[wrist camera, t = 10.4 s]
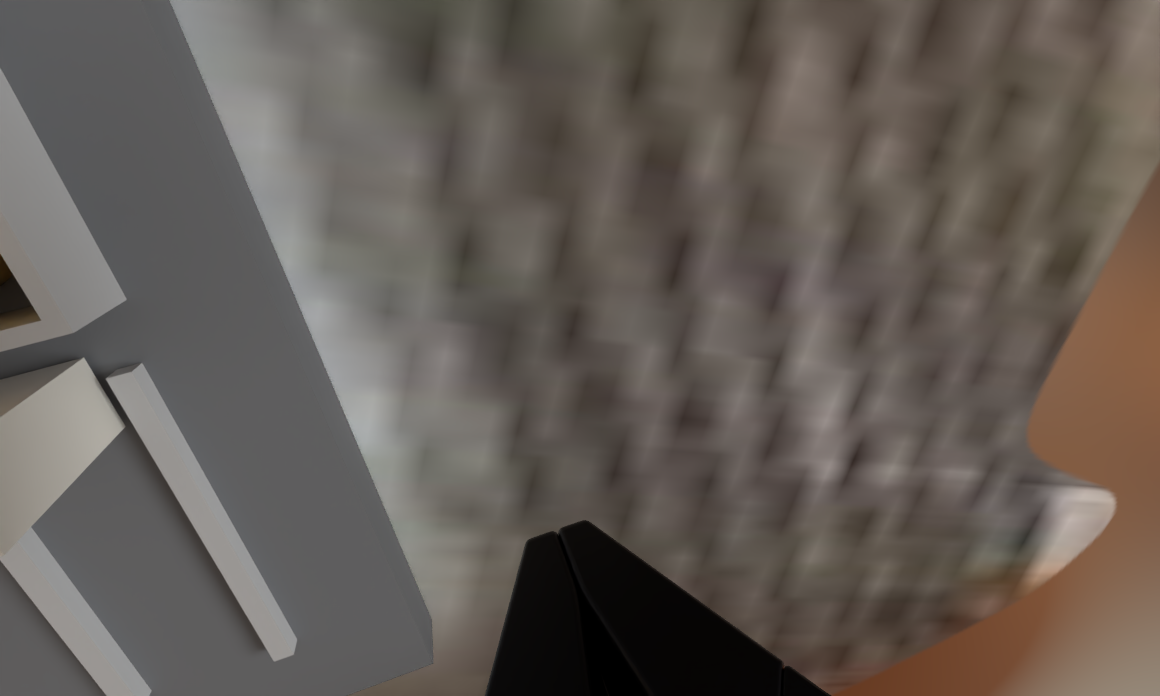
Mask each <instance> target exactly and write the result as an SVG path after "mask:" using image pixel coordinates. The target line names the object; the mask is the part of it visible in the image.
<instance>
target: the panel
mask: <svg viewBox="0 0 1160 696" xmlns="http://www.w3.org/2000/svg"><path fill="white" fill-rule="evenodd" d="M0 254H1V256H2V257H3V259H4V260H5V262H6V264H7V265H8V267H9V269H10V270H11V272H12V273H13V275H12V276H11V277H10V278H9V279H8V280H7V281H5V282H4V283H3V284H2V285H0V380H1V379H5V378H8V377H12V376H16V375H20V374H23V373H27V372H31V371H35V370H38V369H42V368H46V367H50V366H54V365H57V364H61V363H65V362H69V361H72V360H76V359H80V358H85V360H86V362H87V363H88V365H89V367H90V368H91V370H92V372H93V373H94V375H95V377H96V378H97V380H98V382H99V383H100V385H101V387H102V388H103V390H104V392H105V393H106V395H107V397H108V398H109V400H110V402H111V403H112V405H113V407H114V408H115V410H116V412H117V413H118V415H119V417H120V418H121V420H122V422H123V423H124V425H125V426H126V427H125V428H124V429H123V430H122V431H121V432H120V433H119V434H118V435H117V436H116V437H115V438H114V439H113V440H112V442H111V443H110V444H109V445H108V446H107V447H106V448H105V449H104V450H103V451H102V452H101V453H100V454H99V455H98V456H97V457H96V458H95V460H94V461H93V462H92V463H91V464H90V465H89V466H88V467H87V468H86V469H85V470H84V471H83V472H82V473H81V474H80V475H79V477H78V478H77V479H76V480H75V481H74V482H73V483H72V484H71V485H70V486H69V487H68V488H67V489H66V490H65V491H64V492H63V493H62V495H61V496H60V497H59V498H58V499H57V500H56V501H55V502H54V503H53V504H52V505H51V506H50V507H49V508H48V509H47V510H46V512H45V513H44V514H43V515H42V516H41V517H40V518H39V519H38V520H37V521H36V522H35V523H34V524H33V525H32V526H31V527H30V528H29V530H28V531H27V532H26V533H25V534H24V535H23V536H22V537H21V538H20V539H19V540H18V541H17V542H16V543H15V544H14V545H13V546H12V548H11V549H10V550H9V551H8V552H7V553H6V554H5V555H3V556H0V696H347V695H350V694H353V693H355V692H358V691H361V690H363V689H366V688H369V687H372V686H374V685H377V684H380V683H382V682H385V681H388V680H390V679H393V678H396V677H398V676H401V675H404V674H407V673H409V672H412V671H415V670H417V669H420V668H423V667H425V666H428V665H431V664H433V640H432V619H431V617H430V615H429V612H428V610H427V608H426V605H425V603H424V600H423V598H422V596H421V593H420V591H419V589H418V586H417V584H416V582H415V579H414V577H413V575H412V572H411V570H410V567H409V565H408V563H407V560H406V558H405V556H404V553H403V551H402V549H401V546H400V544H399V541H398V539H397V537H396V534H395V532H394V530H393V527H392V525H391V523H390V520H389V518H388V516H387V513H386V511H385V508H384V506H383V504H382V501H381V499H380V497H379V494H378V492H377V490H376V487H375V485H374V483H373V480H372V478H371V475H370V473H369V471H368V468H367V466H366V464H365V461H364V459H363V457H362V454H361V452H360V449H359V447H358V445H357V442H356V440H355V438H354V435H353V433H352V431H351V428H350V426H349V424H348V421H347V419H346V416H345V414H344V412H343V409H342V407H341V405H340V402H339V400H338V398H337V395H336V393H335V391H334V388H333V386H332V383H331V381H330V379H329V376H328V374H327V372H326V369H325V367H324V365H323V362H322V360H321V357H320V355H319V353H318V350H317V348H316V346H315V343H314V341H313V339H312V336H311V334H310V332H309V329H308V327H307V324H306V322H305V320H304V317H303V315H302V313H301V310H300V308H299V306H298V303H297V301H296V298H295V296H294V294H293V291H292V289H291V287H290V284H289V282H288V280H287V277H286V275H285V273H284V270H283V268H282V265H281V263H280V261H279V258H278V256H277V254H276V251H275V249H274V247H273V244H272V242H271V240H270V237H269V235H268V232H267V230H266V228H265V225H264V223H263V221H262V218H261V216H260V214H259V211H258V209H257V206H256V204H255V202H254V199H253V197H252V195H251V192H250V190H249V188H248V185H247V183H246V181H245V178H244V176H243V173H242V171H241V169H240V166H239V164H238V162H237V159H236V157H235V155H234V152H233V150H232V147H231V145H230V143H229V140H228V138H227V136H226V133H225V131H224V129H223V126H222V124H221V122H220V119H219V117H218V114H217V112H216V110H215V107H214V105H213V103H212V100H211V98H210V96H209V93H208V91H207V89H206V86H205V84H204V81H203V79H202V77H201V74H200V72H199V70H198V67H197V65H196V63H195V60H194V58H193V55H192V53H191V51H190V48H189V46H188V44H187V41H186V39H185V37H184V34H183V32H182V30H181V27H180V25H179V22H178V20H177V18H176V15H175V13H174V11H173V8H172V6H171V4H170V1H169V0H0Z"/></svg>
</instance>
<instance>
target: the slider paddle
mask: <svg viewBox="0 0 1160 696" xmlns="http://www.w3.org/2000/svg"><path fill="white" fill-rule="evenodd" d="M125 427H126V426H125V425H124V423H123V422H122V420H121V418H120V417H119V415H118V413H117V412H116V410H115V408H114V407H113V405H112V403H111V402H110V400H109V398H108V397H107V395H106V393H105V392H104V390H103V388H102V387H101V385H100V383H99V382H98V380H97V378H96V377H95V375H94V373H93V372H92V370H91V368H90V367H89V365H88V363H87V362H86V360H85V358H80V359H76V360H72V361H69V362H65V363H61V364H57V365H54V366H50V367H46V368H42V369H38V370H35V371H31V372H27V373H23V374H20V375H16V376H12V377H8V378H5V379H1V380H0V556H3V555H5V554H6V553H7V552H8V551H9V550H10V549H11V548H12V546H13V545H14V544H15V543H16V542H17V541H18V540H19V539H20V538H21V537H22V536H23V535H24V534H25V533H26V532H27V531H28V530H29V528H30V527H31V526H32V525H33V524H34V523H35V522H36V521H37V520H38V519H39V518H40V517H41V516H42V515H43V514H44V513H45V512H46V510H47V509H48V508H49V507H50V506H51V505H52V504H53V503H54V502H55V501H56V500H57V499H58V498H59V497H60V496H61V495H62V493H63V492H64V491H65V490H66V489H67V488H68V487H69V486H70V485H71V484H72V483H73V482H74V481H75V480H76V479H77V478H78V477H79V475H80V474H81V473H82V472H83V471H84V470H85V469H86V468H87V467H88V466H89V465H90V464H91V463H92V462H93V461H94V460H95V458H96V457H97V456H98V455H99V454H100V453H101V452H102V451H103V450H104V449H105V448H106V447H107V446H108V445H109V444H110V443H111V442H112V440H113V439H114V438H115V437H116V436H117V435H118V434H119V433H120V432H121V431H122V430H123V429H124V428H125Z"/></svg>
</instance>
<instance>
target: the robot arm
mask: <svg viewBox="0 0 1160 696" xmlns="http://www.w3.org/2000/svg"><path fill="white" fill-rule="evenodd" d="M558 535H559V536H558ZM485 696H831V695H829V694H828V693H826V692H825V691H823V690H822V689H821V688H819V687H818V686H816V685H815V684H814V683H812V682H811V681H810V680H808V679H807V678H805V677H804V676H803V675H801V674H800V673H799V672H797V671H796V670H795V669H793V668H792V667H790V666H786V667H785V668H784V663H783V662H782V661H781V660H780V659H779V658H777V657H776V656H775V655H773V654H772V653H770V652H769V651H768V650H766V649H765V648H764V647H762V646H761V645H759V644H758V643H757V642H755V641H754V640H753V639H751V638H750V637H748V636H747V635H746V634H744V633H743V632H741V631H740V630H739V629H737V628H736V627H735V626H733V625H732V624H730V623H729V622H728V621H726V620H725V619H723V618H722V617H721V616H719V615H718V614H717V613H715V612H714V611H712V610H711V609H710V608H708V607H707V606H705V605H704V604H703V603H701V602H700V601H699V600H697V599H696V598H694V597H693V596H692V595H690V594H689V593H687V592H686V591H685V590H683V589H682V588H681V587H679V586H678V585H676V584H675V583H674V582H672V581H671V580H669V579H668V578H667V577H665V576H664V575H663V574H661V573H660V572H658V571H657V570H656V569H654V568H653V567H651V566H650V565H649V564H647V563H646V562H645V561H643V560H642V559H640V558H639V557H638V556H636V555H635V554H634V553H632V552H631V551H629V550H628V549H627V548H625V547H624V546H622V545H621V544H620V543H618V542H617V541H616V540H614V539H613V538H611V537H610V536H609V535H607V534H606V533H604V532H603V531H602V530H600V529H599V528H598V527H596V526H595V525H593V524H592V523H591V522H589V521H586V520H583V521H580V522H577V523H574V524H571V525H568V526H565V527H562V528H561V529H560V530H559V532H558V534H557V533H556V532H554V531H551V532H548V533H545V534H542V535H539V536H536V537H533V538H531V539H529V540H528V541H527V542H526V544H525V547H524V551H523V555H522V558H521V562H520V566H519V570H518V573H517V577H516V581H515V585H514V588H513V592H512V596H511V600H510V603H509V607H508V611H507V615H506V618H505V622H504V626H503V630H502V633H501V637H500V641H499V645H498V648H497V652H496V656H495V660H494V663H493V667H492V671H491V675H490V678H489V682H488V686H487V690H486V693H485Z"/></svg>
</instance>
